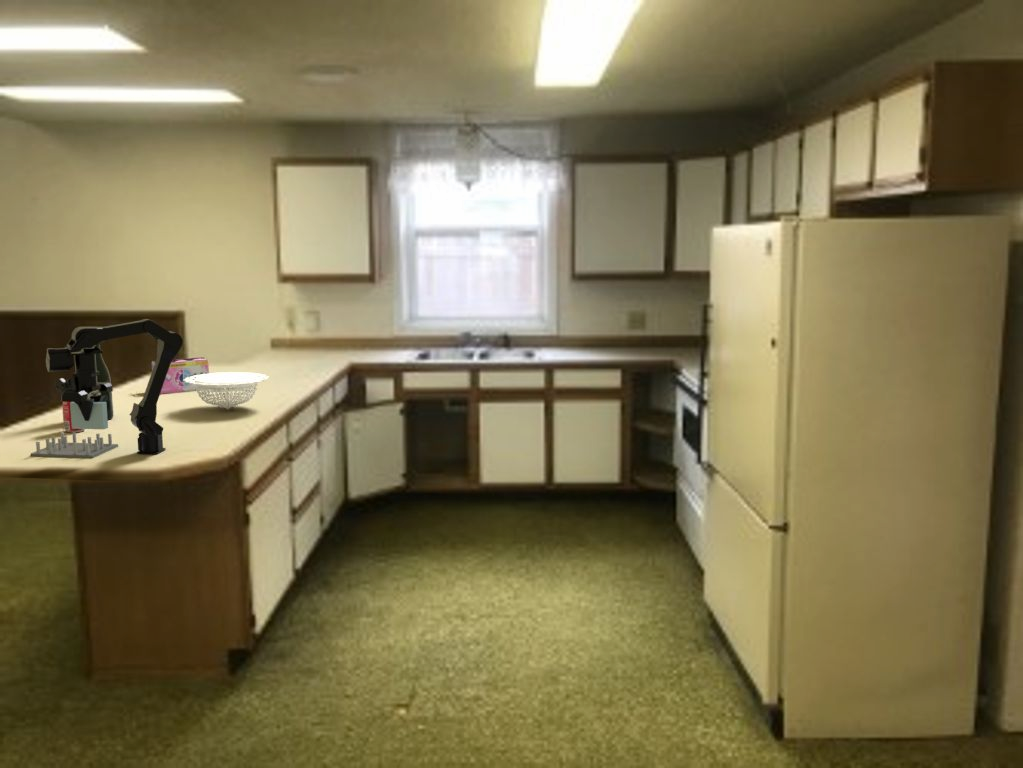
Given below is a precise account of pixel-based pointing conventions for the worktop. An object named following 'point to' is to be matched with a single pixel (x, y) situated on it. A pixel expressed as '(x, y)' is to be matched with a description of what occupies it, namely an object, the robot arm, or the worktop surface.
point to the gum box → (183, 374)
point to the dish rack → (74, 447)
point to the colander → (226, 386)
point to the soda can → (68, 418)
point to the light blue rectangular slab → (96, 418)
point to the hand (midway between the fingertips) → (89, 419)
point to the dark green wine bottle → (104, 377)
